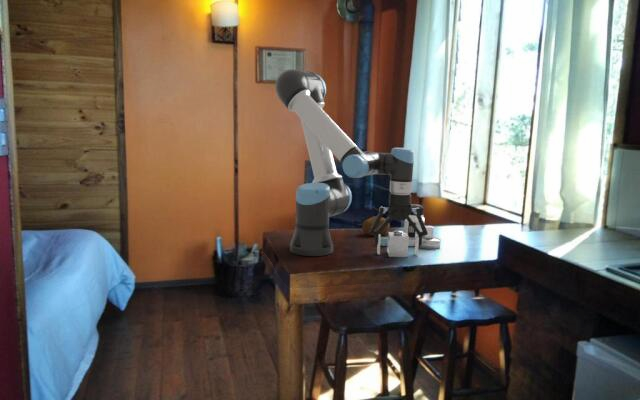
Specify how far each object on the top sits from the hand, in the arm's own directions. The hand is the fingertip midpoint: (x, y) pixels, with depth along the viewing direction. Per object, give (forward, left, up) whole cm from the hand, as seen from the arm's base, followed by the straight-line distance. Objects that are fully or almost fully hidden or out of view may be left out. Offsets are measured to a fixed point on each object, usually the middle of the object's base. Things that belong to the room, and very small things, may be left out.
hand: (397, 253), depth 180 cm
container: (+10, +27, 0) cm, 29 cm away
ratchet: (+6, +13, 0) cm, 14 cm away
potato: (-5, +29, 0) cm, 29 cm away
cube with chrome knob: (0, 0, 0) cm, 0 cm away
